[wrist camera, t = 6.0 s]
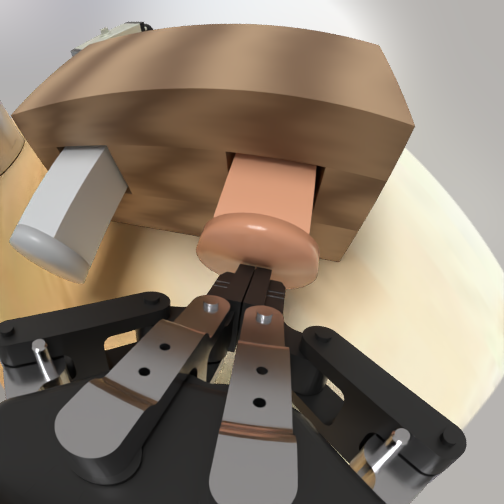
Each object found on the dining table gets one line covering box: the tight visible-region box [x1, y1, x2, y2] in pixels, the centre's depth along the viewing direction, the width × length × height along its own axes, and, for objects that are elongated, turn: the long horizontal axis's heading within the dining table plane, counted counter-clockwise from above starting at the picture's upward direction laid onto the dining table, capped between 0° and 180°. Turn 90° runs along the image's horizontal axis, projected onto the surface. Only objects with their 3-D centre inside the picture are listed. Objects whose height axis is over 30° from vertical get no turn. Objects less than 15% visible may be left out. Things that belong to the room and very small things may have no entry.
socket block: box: [11, 24, 415, 262], centre depth 18 cm, size 23×10×13 cm, turn 78°
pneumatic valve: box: [71, 22, 153, 58], centre depth 26 cm, size 6×12×12 cm, turn 138°
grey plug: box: [9, 145, 128, 284], centre depth 15 cm, size 6×11×6 cm, turn 168°
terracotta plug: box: [196, 153, 320, 289], centre depth 15 cm, size 6×11×6 cm, turn 168°
